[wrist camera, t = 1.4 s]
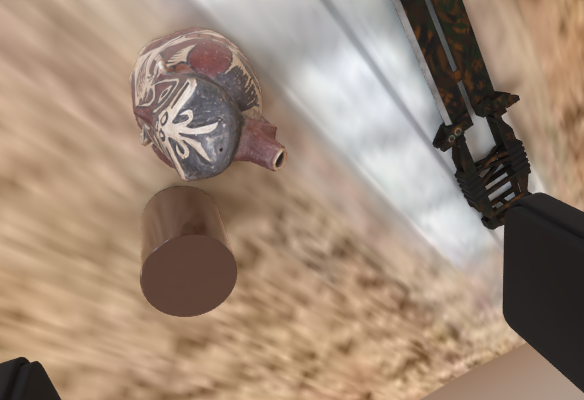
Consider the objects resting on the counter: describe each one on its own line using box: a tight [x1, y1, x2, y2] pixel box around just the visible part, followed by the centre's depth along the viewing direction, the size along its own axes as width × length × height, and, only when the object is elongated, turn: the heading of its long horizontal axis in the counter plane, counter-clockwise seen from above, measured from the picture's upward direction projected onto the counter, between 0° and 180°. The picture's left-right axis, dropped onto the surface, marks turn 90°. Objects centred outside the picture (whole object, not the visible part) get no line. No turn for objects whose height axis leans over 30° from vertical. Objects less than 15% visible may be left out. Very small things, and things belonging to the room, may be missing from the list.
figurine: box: [129, 27, 287, 181], centre depth 22 cm, size 7×7×12 cm
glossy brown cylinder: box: [140, 186, 237, 317], centre depth 28 cm, size 5×5×7 cm
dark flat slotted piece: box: [392, 0, 532, 230], centre depth 32 cm, size 25×6×1 cm, turn 26°
